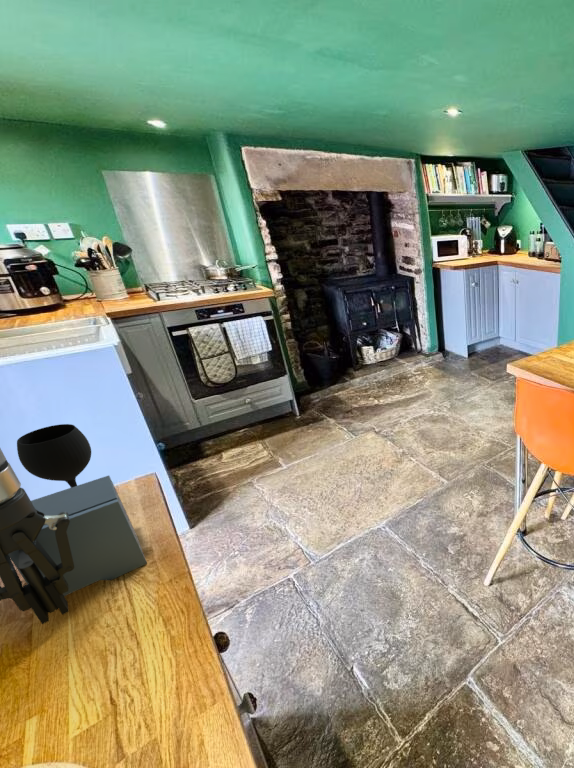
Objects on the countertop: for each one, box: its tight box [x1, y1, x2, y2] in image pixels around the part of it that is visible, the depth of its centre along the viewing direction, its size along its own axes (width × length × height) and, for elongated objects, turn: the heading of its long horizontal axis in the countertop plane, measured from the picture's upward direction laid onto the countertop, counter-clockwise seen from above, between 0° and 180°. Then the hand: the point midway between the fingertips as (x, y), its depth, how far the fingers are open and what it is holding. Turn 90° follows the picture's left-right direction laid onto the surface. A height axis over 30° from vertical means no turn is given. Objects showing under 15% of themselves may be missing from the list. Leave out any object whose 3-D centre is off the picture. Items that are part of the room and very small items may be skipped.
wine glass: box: [16, 423, 92, 488], centre depth 91 cm, size 10×10×20 cm
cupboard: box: [31, 475, 147, 561], centre depth 76 cm, size 10×14×16 cm
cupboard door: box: [9, 499, 148, 614], centre depth 71 cm, size 7×14×16 cm, turn 138°
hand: (54, 612), depth 67 cm, fingers closed on cupboard door, 2 cm apart
